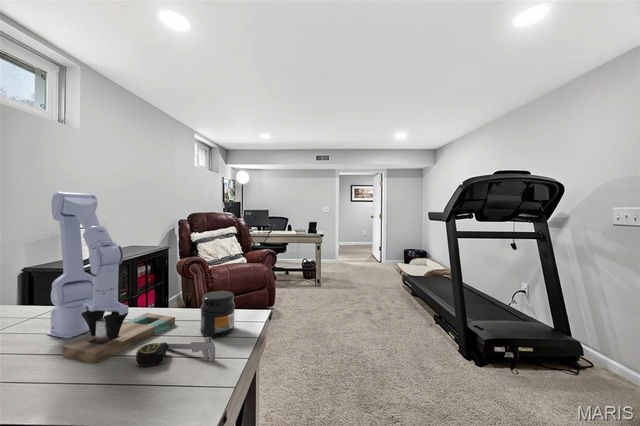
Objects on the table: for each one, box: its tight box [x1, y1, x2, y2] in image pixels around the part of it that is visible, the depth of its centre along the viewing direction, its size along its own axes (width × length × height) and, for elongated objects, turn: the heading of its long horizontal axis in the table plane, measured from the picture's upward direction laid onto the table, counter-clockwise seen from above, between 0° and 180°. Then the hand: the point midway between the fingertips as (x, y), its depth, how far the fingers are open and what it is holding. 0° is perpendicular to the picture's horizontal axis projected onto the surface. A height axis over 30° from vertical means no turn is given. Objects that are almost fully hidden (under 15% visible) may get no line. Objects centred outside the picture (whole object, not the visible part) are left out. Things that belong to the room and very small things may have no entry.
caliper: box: [159, 336, 216, 363], centre depth 77 cm, size 21×1×6 cm, turn 70°
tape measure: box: [135, 341, 170, 367], centre depth 73 cm, size 7×7×4 cm
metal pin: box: [95, 317, 113, 345], centre depth 79 cm, size 4×4×8 cm
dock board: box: [62, 312, 176, 364], centre depth 85 cm, size 12×26×2 cm, turn 164°
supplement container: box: [200, 290, 236, 338], centre depth 92 cm, size 10×10×12 cm
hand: (104, 336), depth 79 cm, fingers open, 6 cm apart
